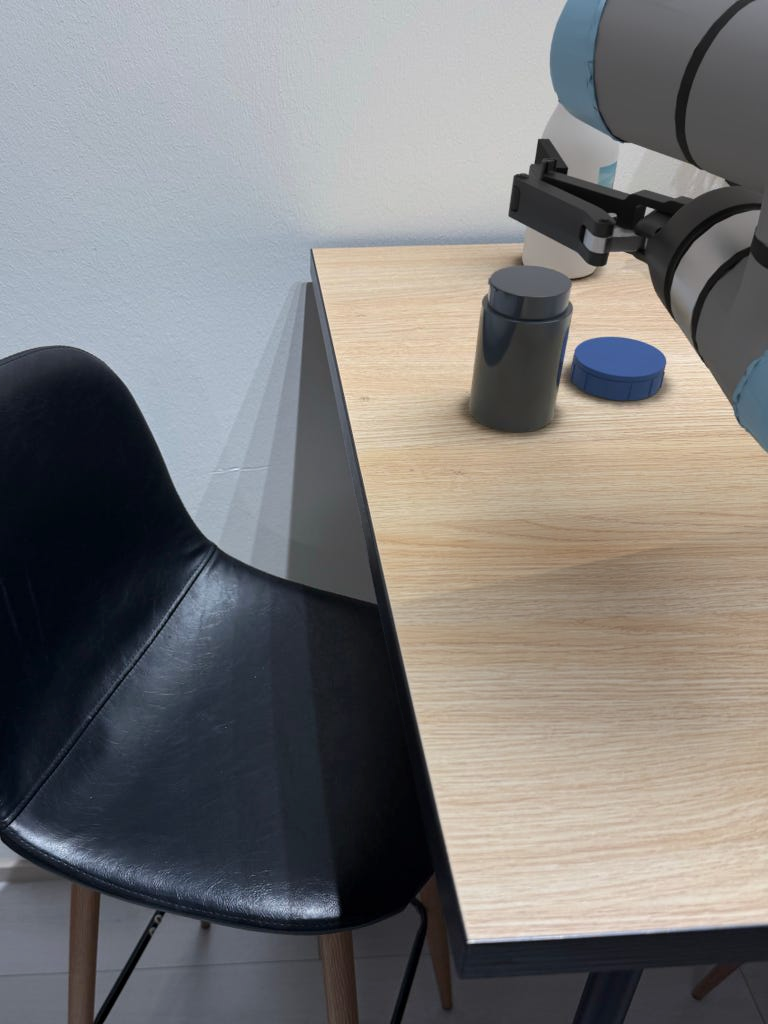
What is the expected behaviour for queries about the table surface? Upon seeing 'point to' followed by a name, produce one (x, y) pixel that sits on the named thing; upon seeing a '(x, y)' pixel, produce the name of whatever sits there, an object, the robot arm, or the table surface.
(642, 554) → the table surface
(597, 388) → the lid
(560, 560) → the table surface
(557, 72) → the robot arm
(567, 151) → the milk bottle
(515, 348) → the jar
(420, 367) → the table surface
